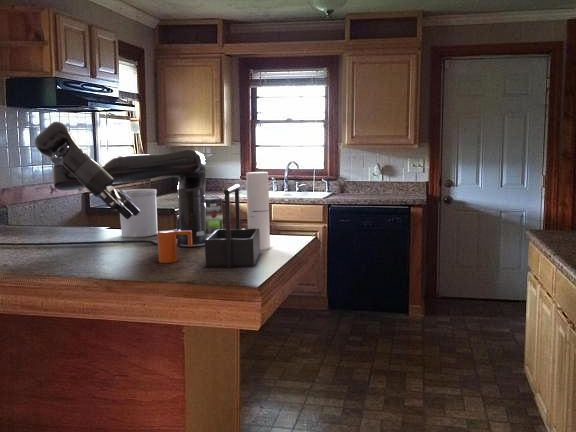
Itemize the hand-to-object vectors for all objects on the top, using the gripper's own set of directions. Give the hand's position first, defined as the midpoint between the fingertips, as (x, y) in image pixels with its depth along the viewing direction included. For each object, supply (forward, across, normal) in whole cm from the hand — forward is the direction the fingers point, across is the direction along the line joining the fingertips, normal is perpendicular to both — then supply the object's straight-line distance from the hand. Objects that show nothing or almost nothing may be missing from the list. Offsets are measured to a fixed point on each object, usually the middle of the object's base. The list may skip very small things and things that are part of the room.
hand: (134, 215), depth 190 cm
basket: (+31, 0, +11) cm, 33 cm away
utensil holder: (0, -59, -21) cm, 62 cm away
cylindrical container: (+35, -21, +15) cm, 43 cm away
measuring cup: (+18, 0, -1) cm, 18 cm away
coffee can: (+19, -57, -1) cm, 60 cm away
